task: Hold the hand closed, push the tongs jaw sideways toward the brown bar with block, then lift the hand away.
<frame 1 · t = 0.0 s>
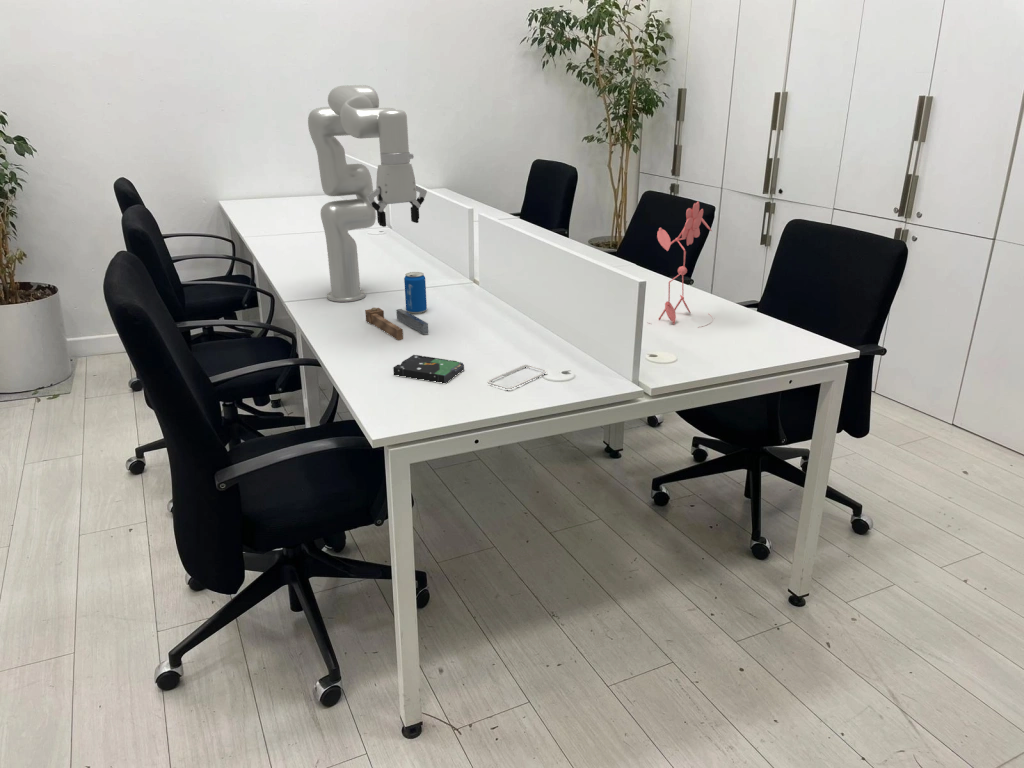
hand: (399, 224, 211), 31 cm above the table, tool pointing down, fingers open, 9 cm apart
phone case: (517, 381, 190), on the table
tongs jaw: (412, 321, 227), point 2 cm above the table, slide at 6.0 cm
disk drive: (429, 375, 194), on the table
brown bar with block: (388, 329, 225), on the table
beverage can: (416, 312, 242), on the table
figurine: (686, 320, 232), on the table
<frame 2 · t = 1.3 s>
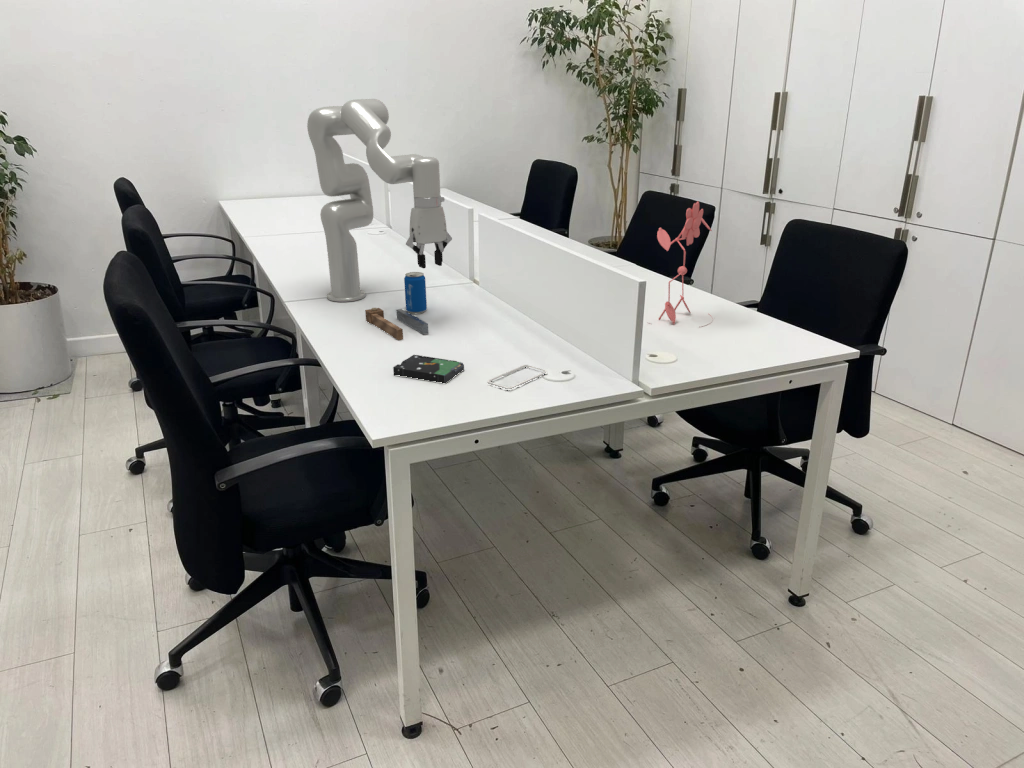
hand: (430, 265, 225), 17 cm above the table, tool pointing down, fingers open, 4 cm apart
nothing on the table moved.
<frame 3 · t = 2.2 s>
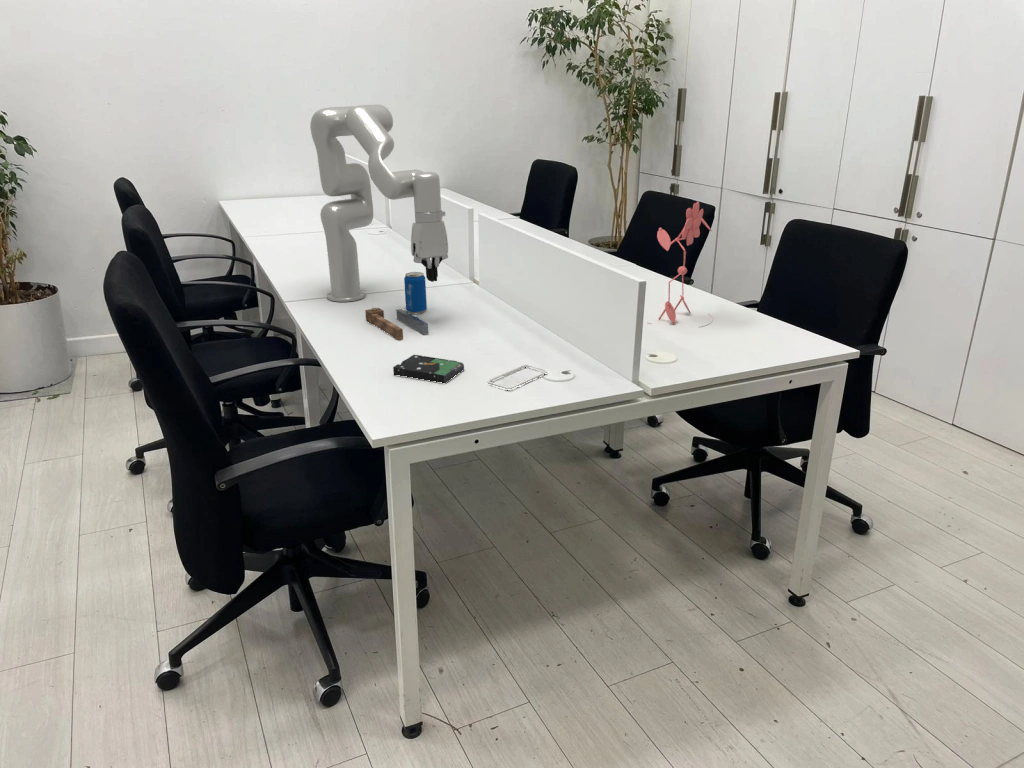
hand: (432, 280, 226), 13 cm above the table, tool pointing down, fingers closed
nothing on the table moved.
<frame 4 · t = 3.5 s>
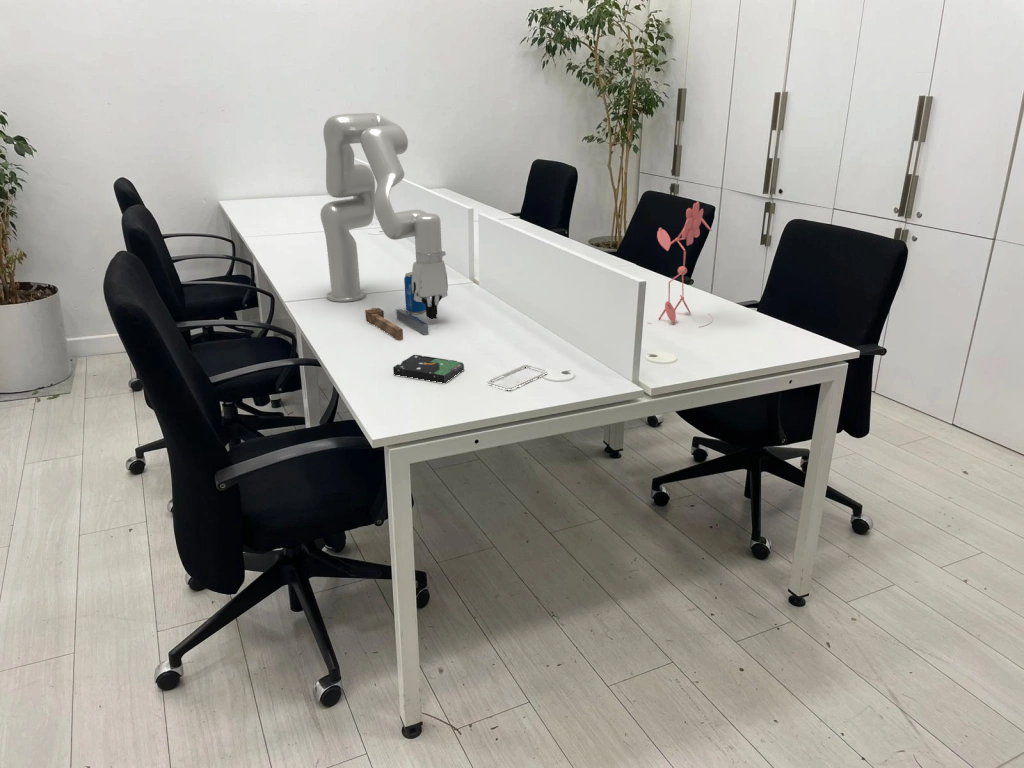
hand: (431, 317, 231), 2 cm above the table, tool pointing down, fingers closed
nothing on the table moved.
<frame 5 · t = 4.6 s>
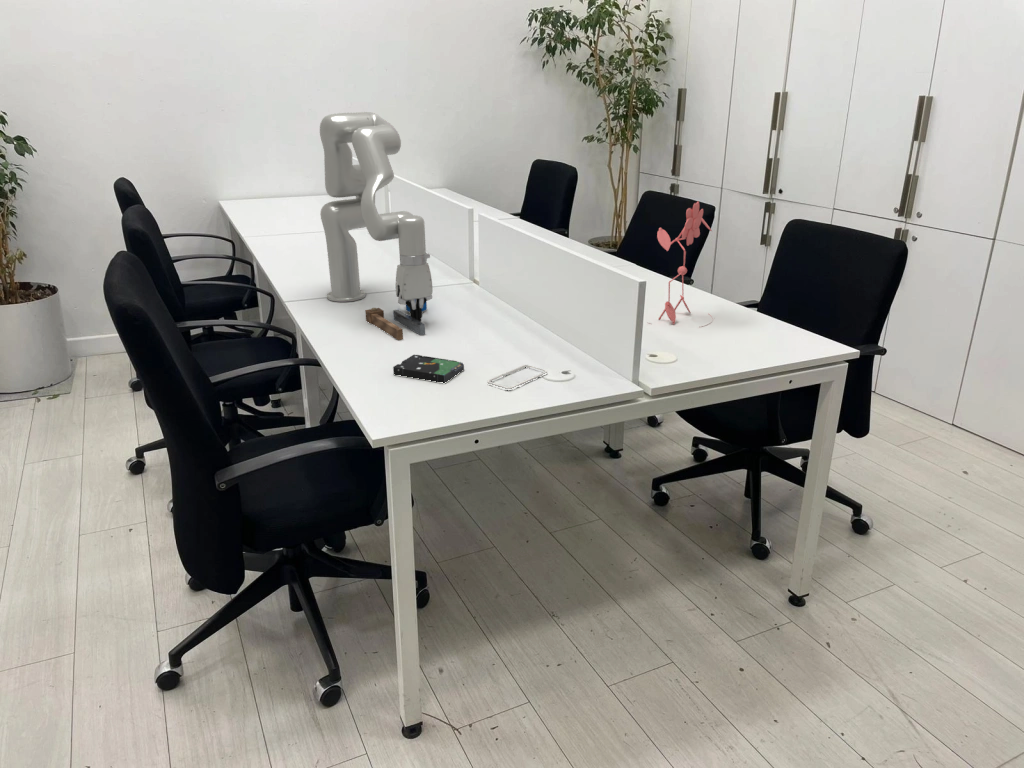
hand: (416, 320, 228), 1 cm above the table, tool pointing down, fingers closed
tongs jaw: (408, 321, 227), point 2 cm above the table, slide at 4.9 cm, touching gripper
everything else where it was.
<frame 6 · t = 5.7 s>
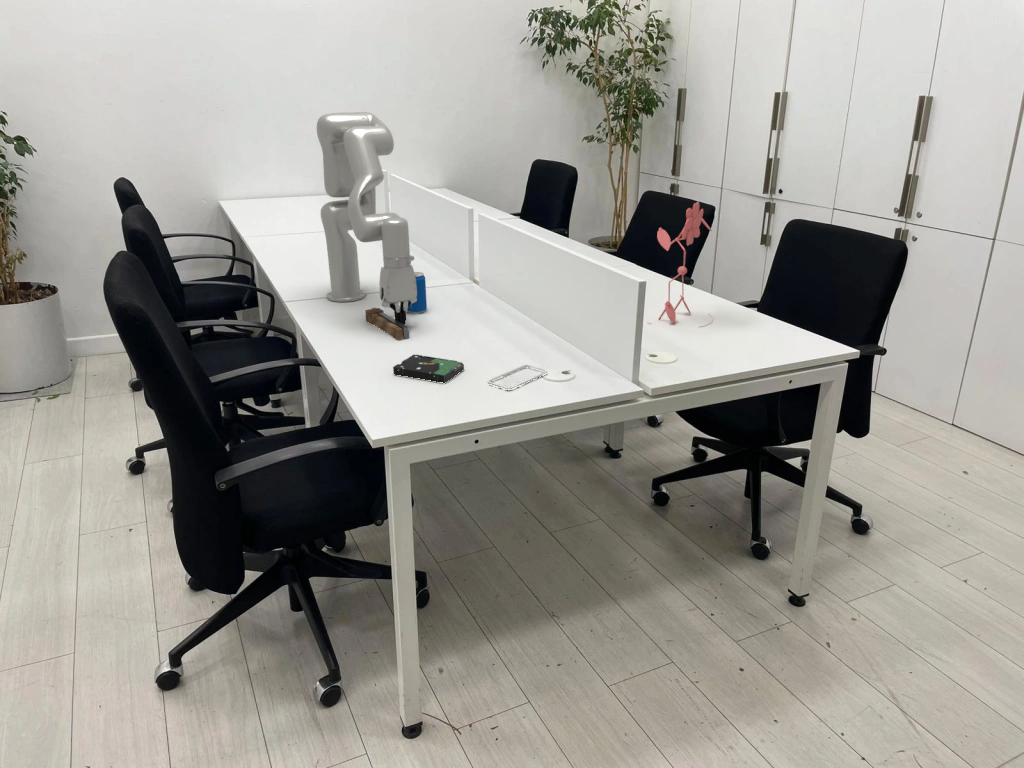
hand: (400, 323, 226), 1 cm above the table, tool pointing down, fingers closed
tongs jaw: (393, 324, 224), point 2 cm above the table, slide at -0.1 cm, touching gripper
everything else where it was.
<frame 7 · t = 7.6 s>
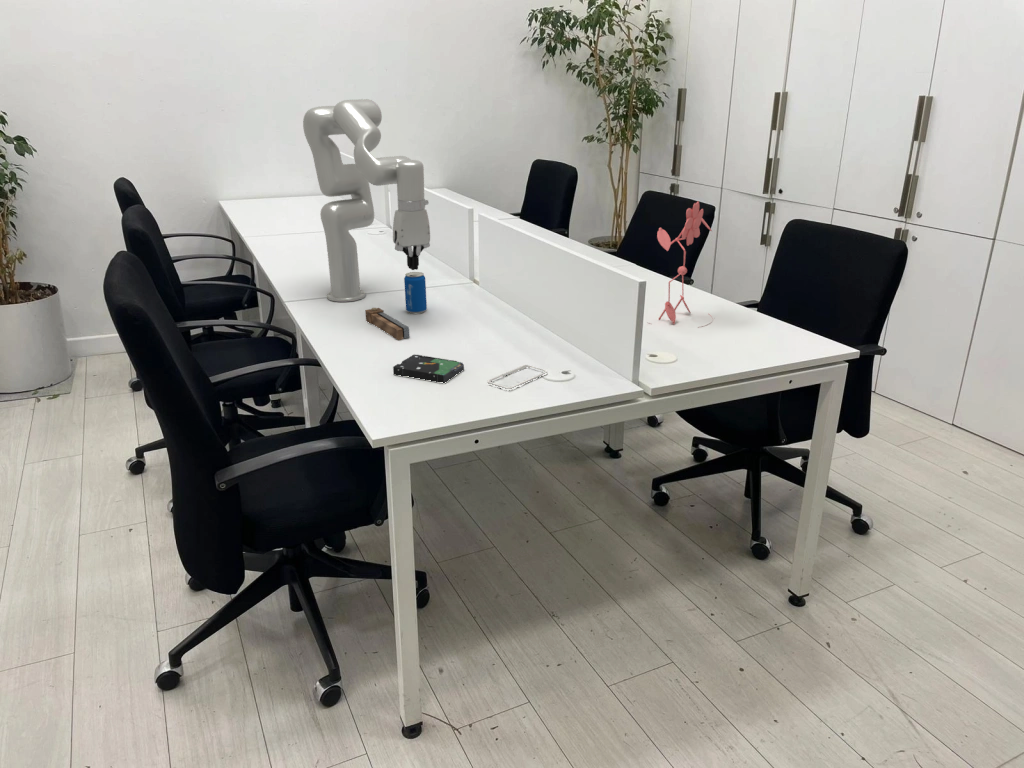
hand: (413, 268, 226), 16 cm above the table, tool pointing down, fingers closed
tongs jaw: (393, 324, 224), point 2 cm above the table, slide at 0.0 cm
everything else where it was.
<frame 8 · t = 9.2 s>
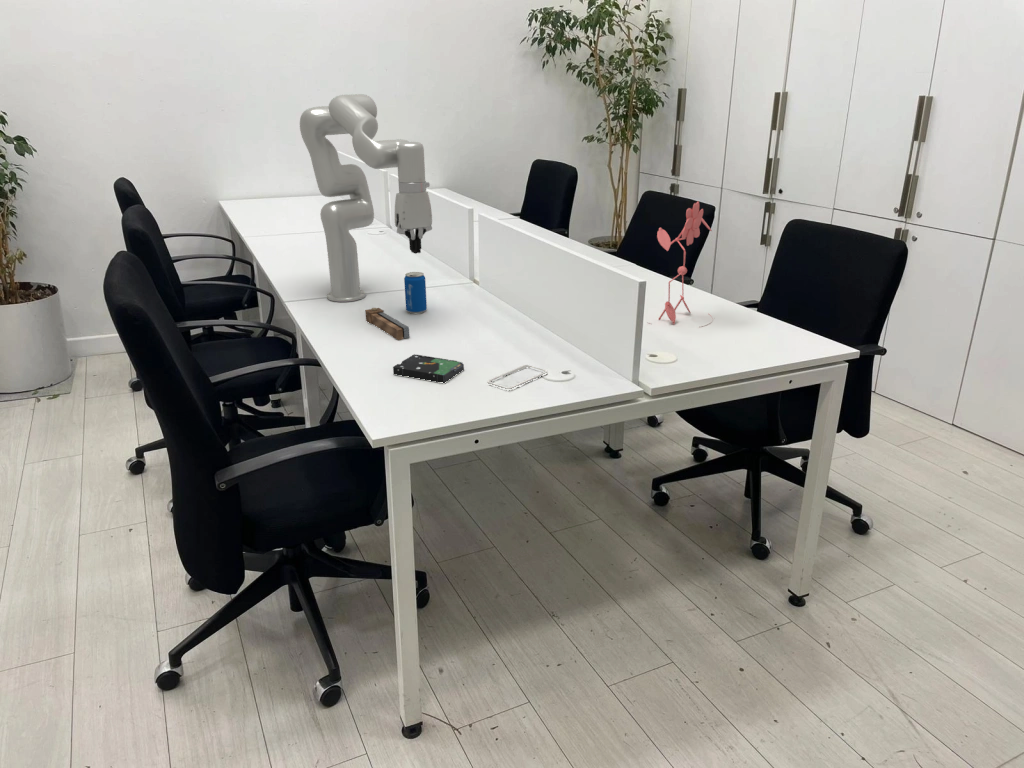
hand: (415, 252, 225), 21 cm above the table, tool pointing down, fingers closed
nothing on the table moved.
at the end: tongs jaw slide at 0.0 cm; beverage can moved 0.2 cm from its start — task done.
